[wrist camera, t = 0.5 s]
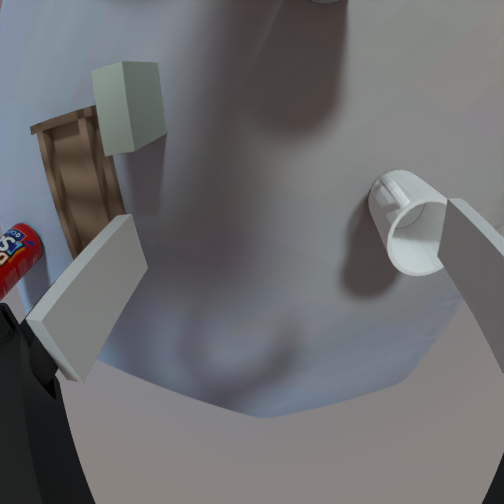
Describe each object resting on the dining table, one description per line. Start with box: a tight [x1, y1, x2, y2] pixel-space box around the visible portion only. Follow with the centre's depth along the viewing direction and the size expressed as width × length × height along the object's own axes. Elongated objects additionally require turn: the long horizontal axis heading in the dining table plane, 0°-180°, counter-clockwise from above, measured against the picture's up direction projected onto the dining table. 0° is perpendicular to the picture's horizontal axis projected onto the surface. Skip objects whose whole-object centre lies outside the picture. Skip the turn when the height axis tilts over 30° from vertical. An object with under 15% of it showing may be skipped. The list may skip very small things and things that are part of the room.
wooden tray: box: [30, 105, 126, 260], centre depth 38 cm, size 24×11×3 cm, turn 4°
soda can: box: [0, 223, 42, 301], centre depth 39 cm, size 8×8×15 cm
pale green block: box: [91, 61, 167, 156], centre depth 29 cm, size 9×4×9 cm, turn 4°
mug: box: [368, 170, 447, 276], centre depth 31 cm, size 11×9×10 cm
